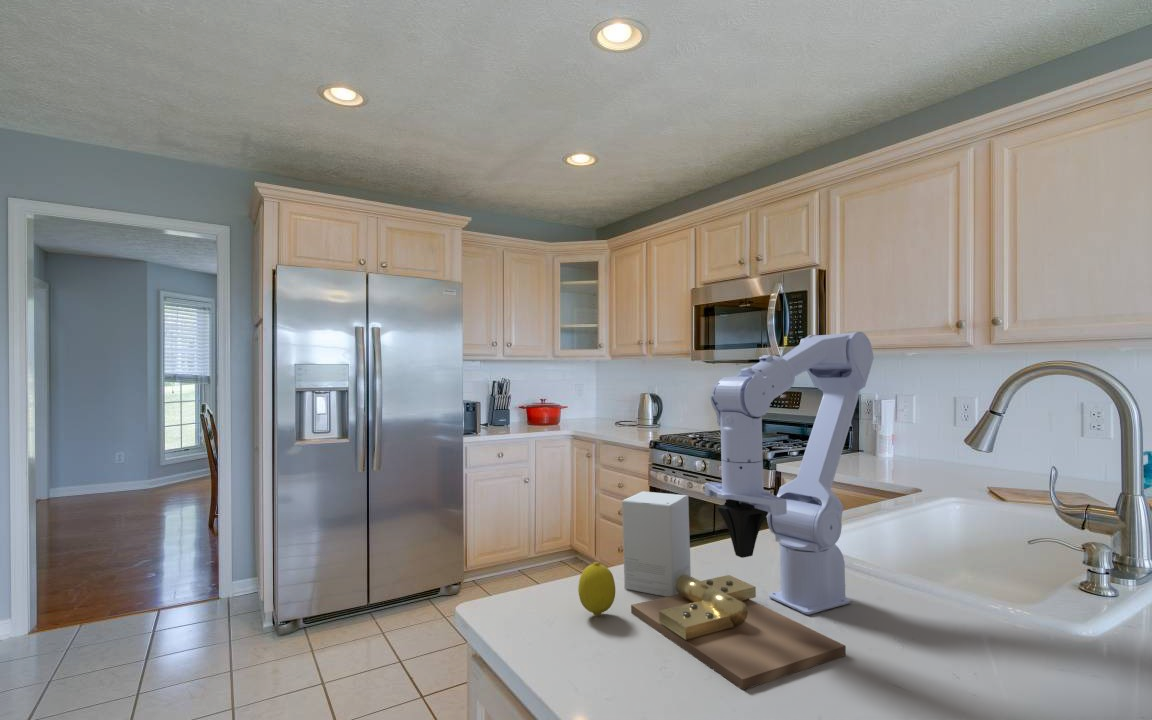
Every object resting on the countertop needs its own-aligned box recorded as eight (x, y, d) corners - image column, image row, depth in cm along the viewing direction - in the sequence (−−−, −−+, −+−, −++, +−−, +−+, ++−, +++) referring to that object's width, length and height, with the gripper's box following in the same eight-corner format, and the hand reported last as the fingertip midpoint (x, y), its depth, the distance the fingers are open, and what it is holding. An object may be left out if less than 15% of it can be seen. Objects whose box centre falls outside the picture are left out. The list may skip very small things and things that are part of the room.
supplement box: (692, 581, 100) (690, 494, 100) (673, 599, 92) (671, 505, 92) (644, 572, 104) (642, 489, 105) (622, 589, 96) (620, 499, 97)
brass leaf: (719, 607, 85) (718, 585, 85) (748, 622, 79) (747, 599, 80) (659, 622, 80) (658, 599, 80) (685, 639, 75) (685, 614, 75)
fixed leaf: (723, 582, 95) (723, 562, 95) (755, 597, 88) (755, 576, 88) (670, 593, 90) (670, 573, 90) (700, 611, 84) (700, 588, 84)
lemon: (613, 625, 83) (612, 569, 83) (575, 622, 84) (574, 567, 84) (618, 609, 88) (617, 557, 88) (582, 607, 89) (581, 555, 89)
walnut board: (719, 592, 94) (719, 584, 94) (845, 655, 73) (845, 645, 73) (631, 612, 87) (631, 604, 87) (742, 690, 65) (742, 679, 65)
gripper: (688, 455, 87) (690, 546, 87) (757, 469, 74) (760, 575, 74) (724, 452, 90) (726, 539, 90) (797, 464, 77) (799, 566, 77)
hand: (744, 555), depth 82 cm, fingers closed
